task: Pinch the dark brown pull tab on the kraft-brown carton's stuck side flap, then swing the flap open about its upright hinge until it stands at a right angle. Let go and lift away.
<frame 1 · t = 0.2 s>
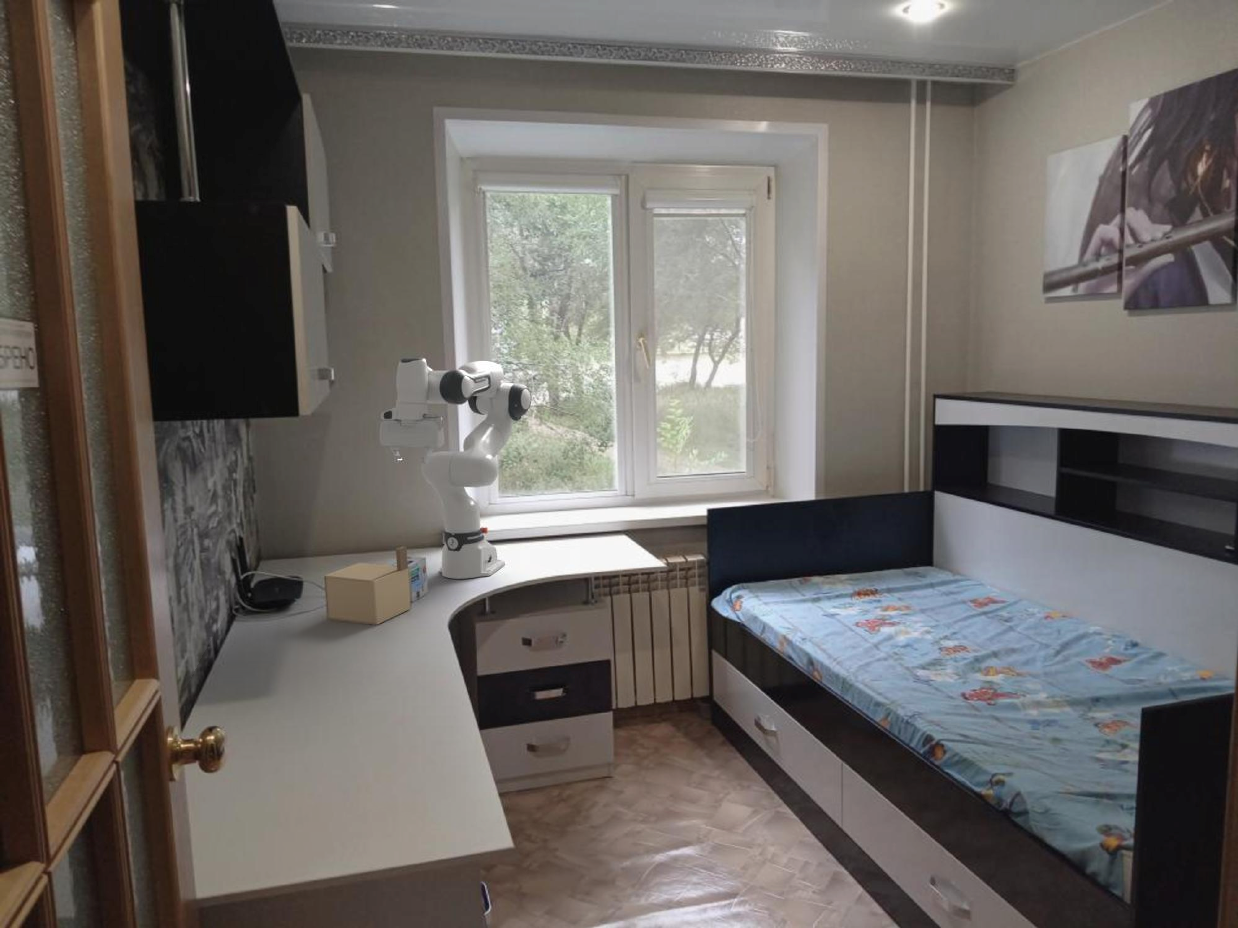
hand: (411, 462, 243), 39 cm above the table, tool pointing down, fingers open, 8 cm apart
carton: (368, 614, 231), on the table
side flap: (391, 584, 226), point 9 cm above the table, hinge at 0.0°
light bulb box: (410, 597, 246), on the table
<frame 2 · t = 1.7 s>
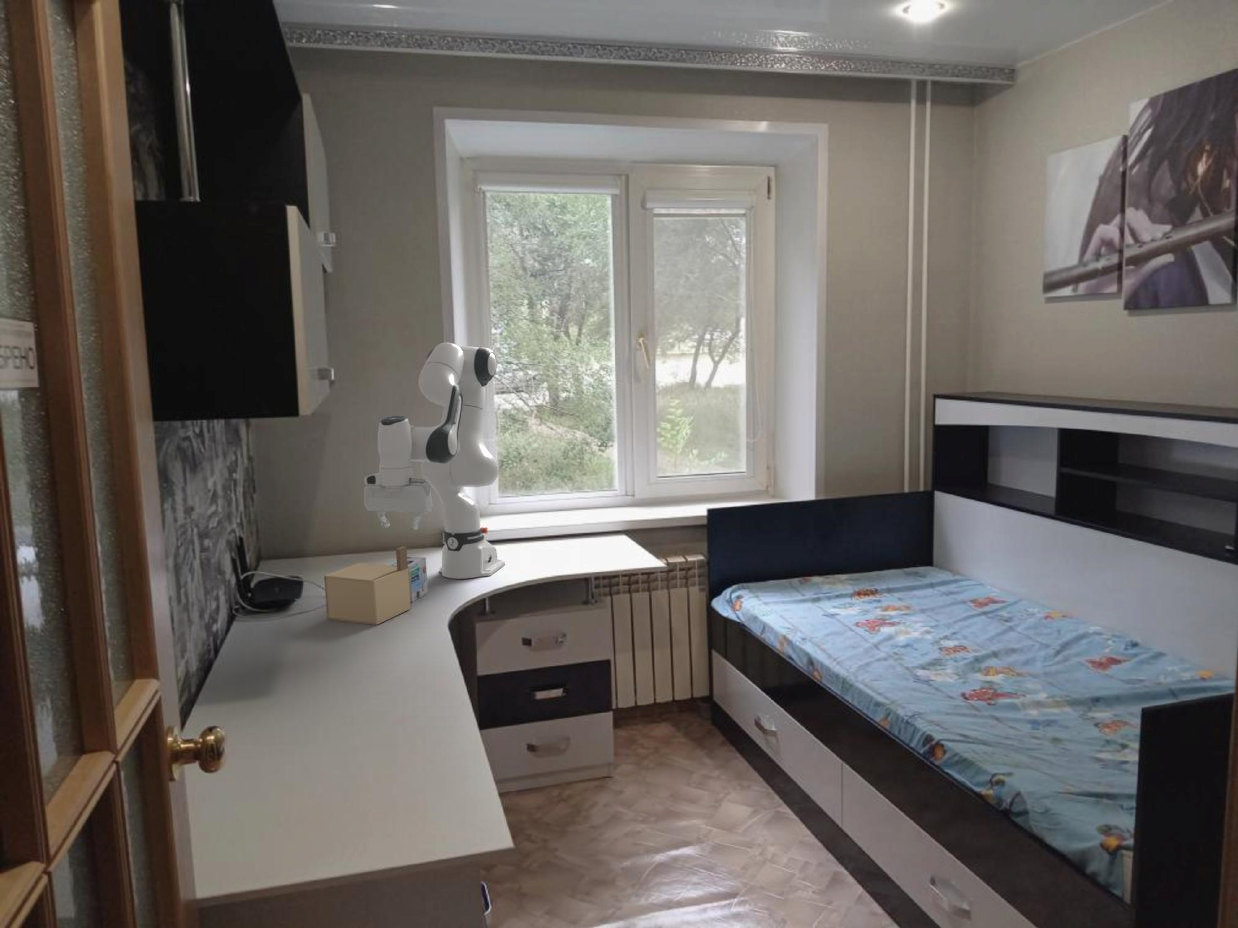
hand: (399, 528, 229), 23 cm above the table, tool pointing down, fingers open, 8 cm apart
nothing on the table moved.
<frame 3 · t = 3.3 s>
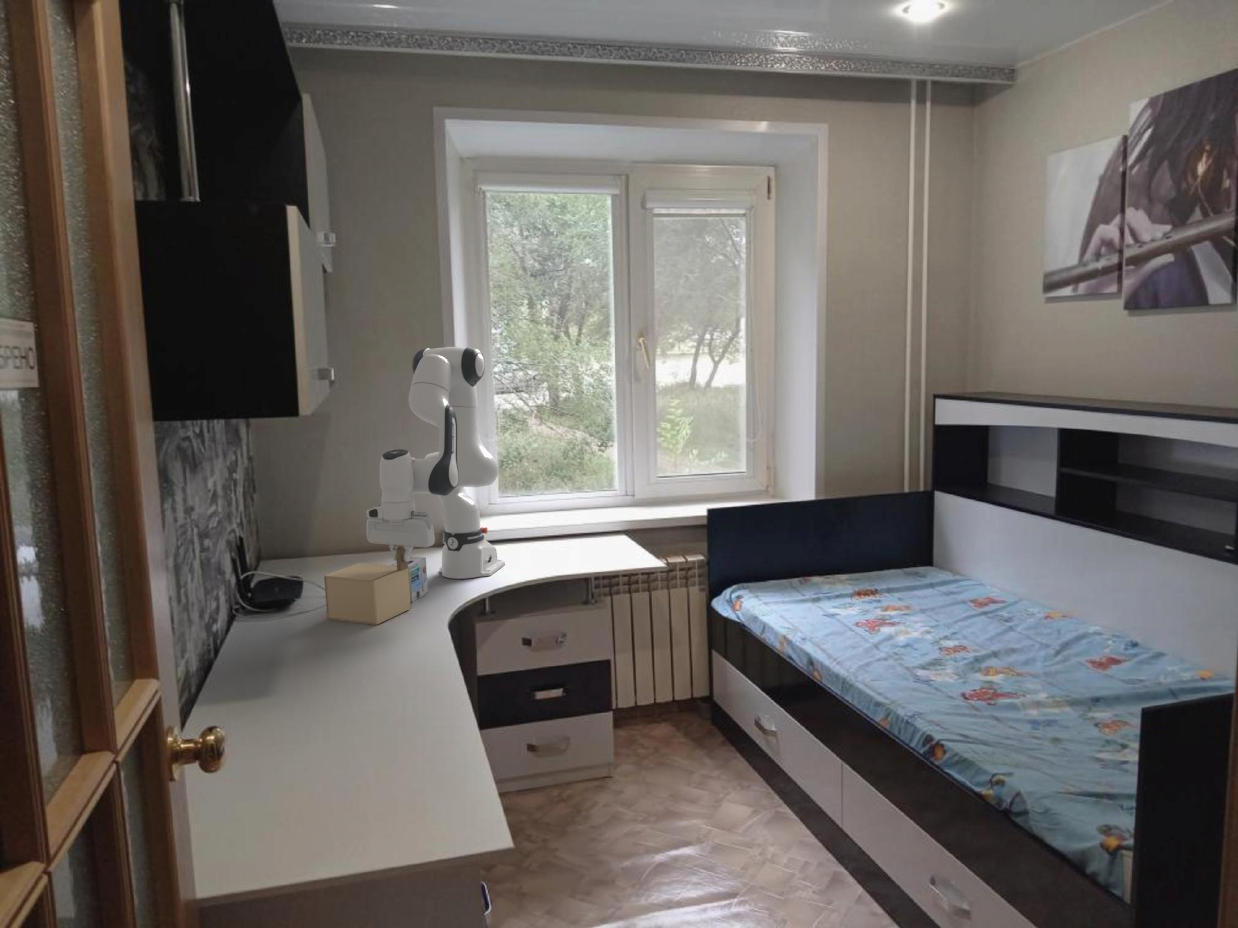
hand: (402, 560, 230), 14 cm above the table, tool pointing down, fingers closed on side flap
side flap: (391, 584, 226), point 9 cm above the table, hinge at 0.0°, touching gripper
everything else where it was.
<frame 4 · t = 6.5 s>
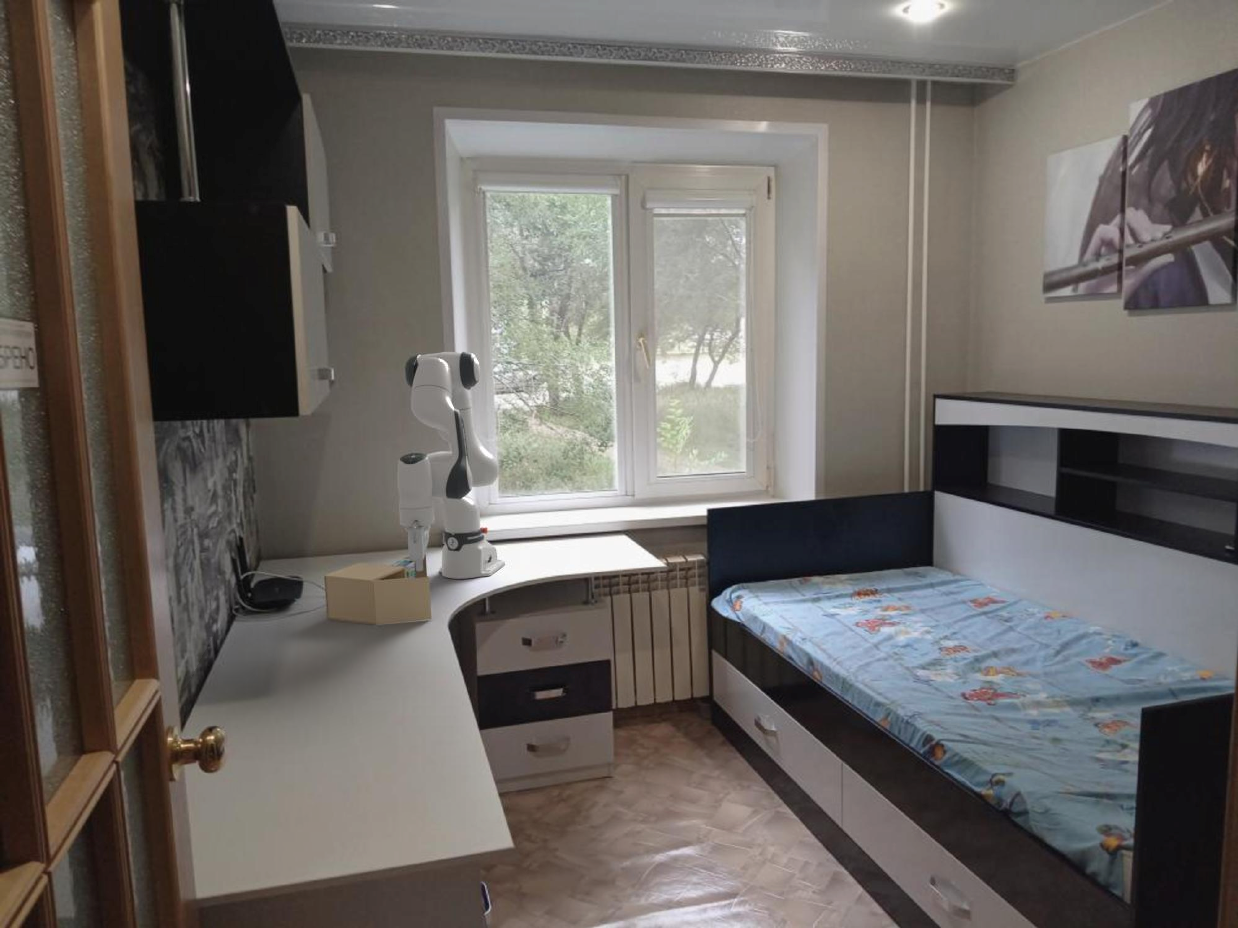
hand: (420, 568, 222), 14 cm above the table, tool pointing down, fingers closed
side flap: (402, 588, 222), point 9 cm above the table, hinge at 53.3°, touching gripper
everything else where it was.
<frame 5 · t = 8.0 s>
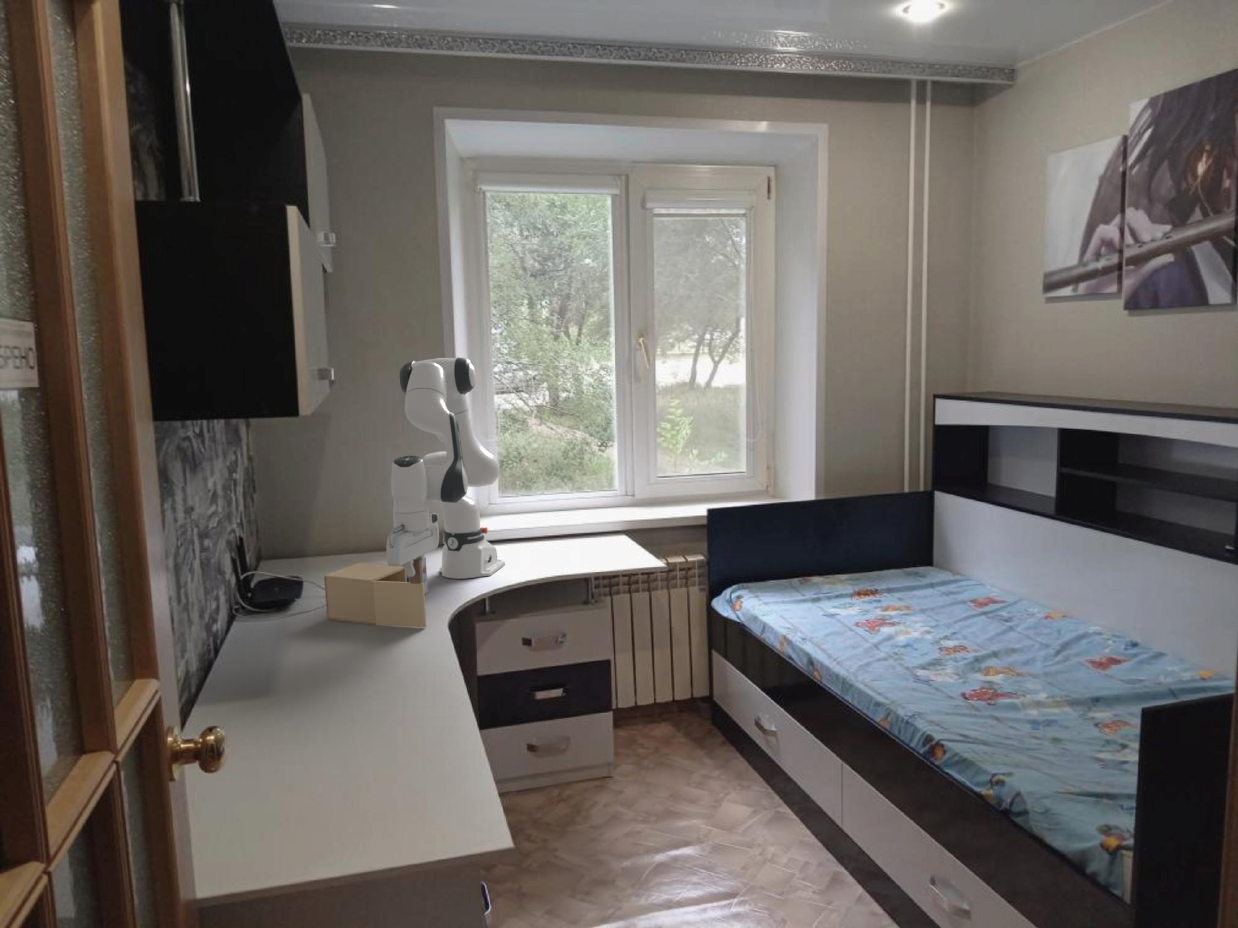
hand: (414, 574, 216), 14 cm above the table, tool pointing down, fingers closed
side flap: (399, 592, 218), point 9 cm above the table, hinge at 80.3°, touching gripper
everything else where it was.
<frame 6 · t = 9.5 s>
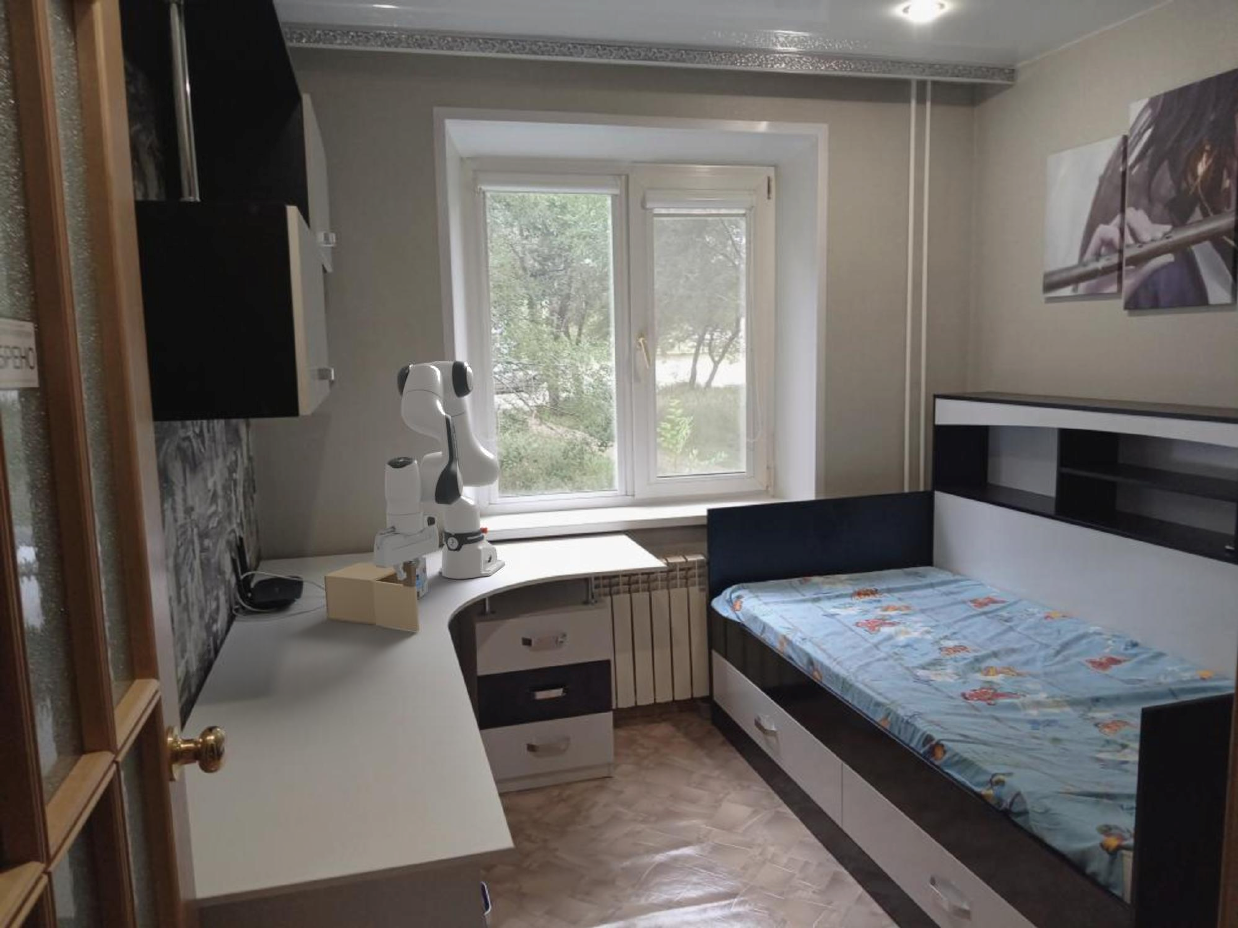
hand: (408, 576, 214), 14 cm above the table, tool pointing down, fingers open, 3 cm apart
side flap: (395, 594, 217), point 9 cm above the table, hinge at 94.5°
everything else where it was.
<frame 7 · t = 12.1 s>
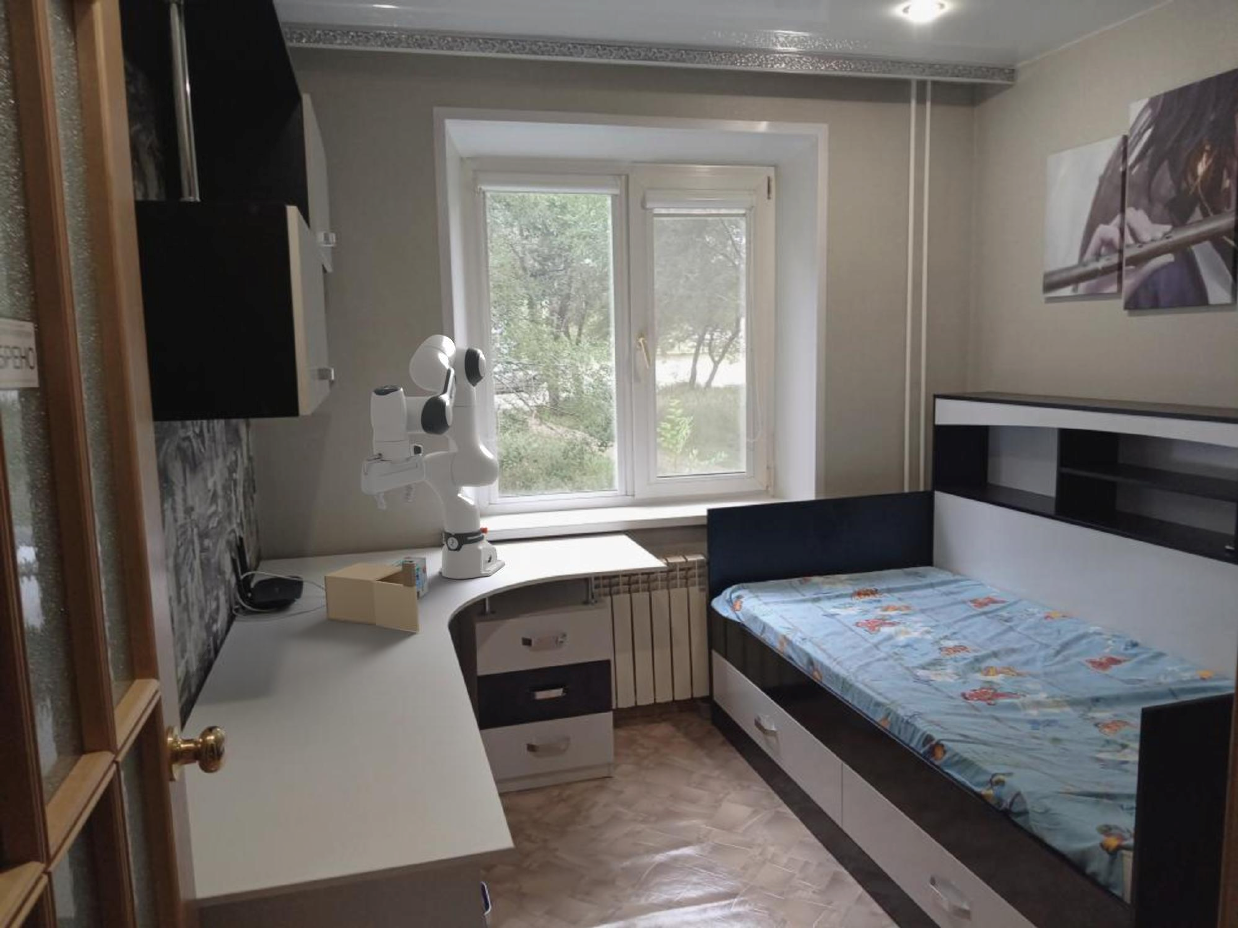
hand: (395, 504, 216), 32 cm above the table, tool pointing down, fingers open, 8 cm apart
nothing on the table moved.
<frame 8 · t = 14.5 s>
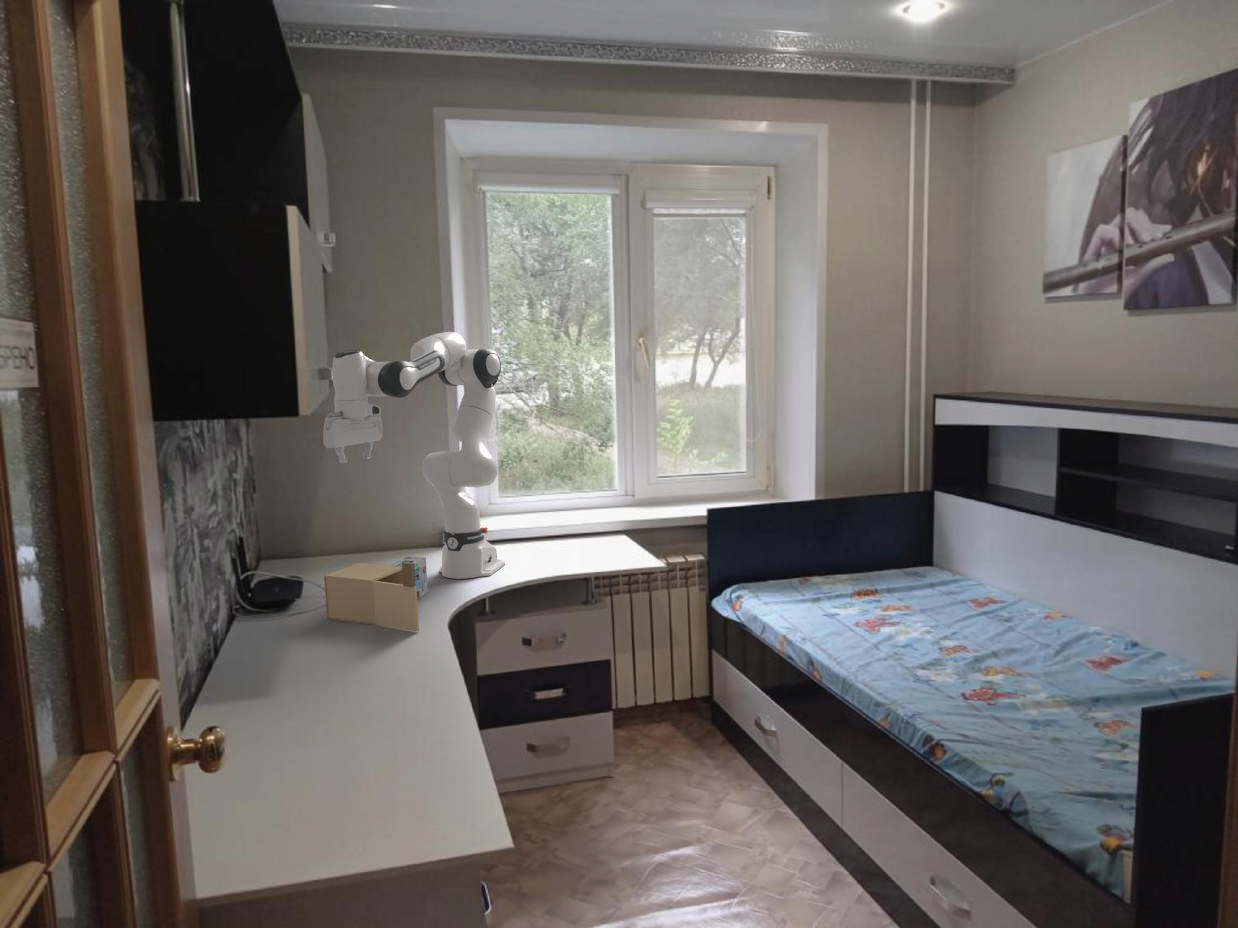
hand: (355, 460, 233), 41 cm above the table, tool pointing down, fingers open, 8 cm apart
nothing on the table moved.
at the end: side flap at +94° (first picture: +0°); the gripper is holding nothing; light bulb box moved 0.3 cm from its start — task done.
